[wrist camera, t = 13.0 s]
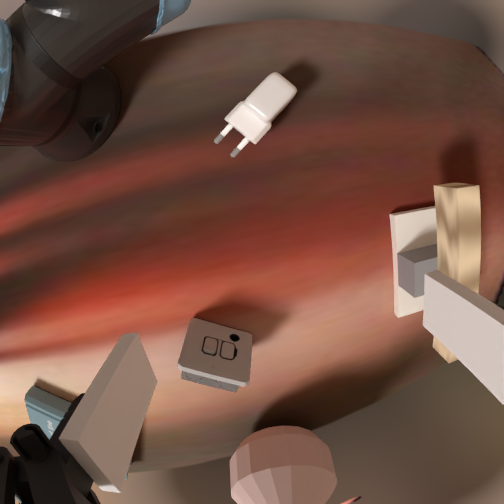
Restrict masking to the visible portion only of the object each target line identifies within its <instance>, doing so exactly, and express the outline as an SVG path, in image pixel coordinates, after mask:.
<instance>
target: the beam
mask: <svg viewBox="0 0 504 504" xmlns="http://www.w3.org/2000/svg"><path fill="white" fill-rule="evenodd" d="M434 196H435V208H436V224H437V270H438V271H440V272H441V273H443V274H445V275H447V276H448V277H450V278H452V279H454V280H455V281H457V282H459V283H461V284H462V285H464V286H466V287H467V288H469V289H471V290H472V291H474V292H476V293H477V294H478V290H479V277H480V259H481V209H480V191H479V185H472V184H464V183H448V184H441V185H434ZM433 348H434V349H435V350H436V351H437V352H438V353H439V354H440V355H441V356H442V357H443V358H444V359H445V360H446V361H447V362H448V363H451V362H453V361H455V360H458V358H457V357H456V356H455V355H453V354H452V353H451V352H450V351H449V350H448V349H447V348H446V347H445V346H444V345H443V344H442V343H441V342H440V341H439V340H438V339H437V338H436V337H435V336H434V339H433Z"/></svg>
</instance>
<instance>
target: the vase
mask: <svg viewBox="0 0 504 504" xmlns="http://www.w3.org/2000/svg"><path fill="white" fill-rule="evenodd" d="M230 477H231V494H232V495H231V496H232V498H233V499H234V500H235V501H236V502H237V504H325V503H326V502H327V500H328V499H329V497H330V496H331V494H332V492H333V491H334V489H335V487H336V484H337V479H336V475H335V471H334V466H333V463H332V458H331V454H330V451H329V447H328V446H327V445H326V444H325V443H324V442H323V441H322V440H321V439H320V438H319V437H317V436H316V435H315V434H314V433H313V432H312V431H310V430H308V429H304V428H301V427H298V426H284V425H283V426H276V427H269V428H265V429H263V430H260V431H257V432H254V433H252V434H251V435H249V436H248V437H247V438H245V439H244V440H243V441H242V442H241V444H240V445H239V447H238V448H237V450H236V451H235V453H234V454H233V456H232V457H231V459H230Z"/></svg>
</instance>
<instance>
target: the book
mask: <svg viewBox="0 0 504 504" xmlns="http://www.w3.org/2000/svg"><path fill="white" fill-rule="evenodd" d="M25 403H26V407H27V411H28V415H29V418H30V421H31V424H37V425H39V426H40V427H41V429H42V430H43V432H44V433H45V434H46V436H47V437H48V438H49V440H50V438H51V436H52V434H53V433H54V431H55V429H56V428H57V426H58V424H59V423H60V421H61V419H63V416H64V415H65V413H66V412H68V411H67V410H68V408H69V406H70V405H71V402H68V401H66V400H64V399H61V398H59V397H57V396H54V395H52V394H50V393H48V392H46V391H44V390H41V389H39V388H37V387H35V386H32V387H31V388H30V389H29V391H28V392H27V393H26V395H25ZM130 465H132V460H131V461H130ZM130 465H129V466H130ZM128 469H129V468H128ZM127 478H128V471H127V474H126V477H125V479H127Z"/></svg>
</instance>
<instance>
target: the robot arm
mask: <svg viewBox="0 0 504 504" xmlns="http://www.w3.org/2000/svg"><path fill="white" fill-rule="evenodd" d="M25 1H26V2H25V3H24V4H23V5H22V6H20V7H19V8H18V9H17V10H16V11H15V12H14V13H13V14H12V15H11V16H10V17H9V18H8V19H7V20H6V21H4V20H3V19H0V146H32V147H33V148H35V149H36V150H38V151H39V152H40V153H41V154H42V155H44V156H45V157H47V158H49V159H52V160H56V161H75V160H79V159H82V158H84V157H86V156H88V155H90V154H92V153H93V152H94V151H96V150H97V149H98V148H99V147H100V146H101V145H102V144H103V143H104V142H105V141H106V139H107V138H108V137H109V135H110V134H111V132H112V130H113V128H114V126H115V124H116V122H117V119H118V116H119V112H120V106H121V92H120V87H119V84H118V81H117V79H116V77H115V76H114V74H113V73H112V72H111V71H110V70H109V69H108V68H107V67H105V66H104V65H105V64H106V63H108V62H109V61H110V60H112V59H113V58H115V57H116V56H117V55H119V54H120V53H122V52H123V51H125V50H126V49H128V48H129V47H131V46H132V45H134V44H135V43H137V42H138V41H140V40H141V39H143V38H145V37H146V36H148V35H149V34H154V33H156V32H157V31H158V30H159V29H160V27H161V26H163V25H165V24H167V23H168V22H170V21H172V20H173V19H175V18H177V17H178V16H180V15H181V14H183V13H184V12H185V11H186V10H187V9H188V7H189V4H190V2H191V0H25ZM423 326H424V327H425V328H426V329H427V330H428V331H429V332H430V333H431V334H432V335H434V336H435V337H436V338H437V339H438V340H439V341H440V342H441V343H442V344H443V345H444V346H445V347H446V348H447V349H448V350H449V351H450V352H451V353H452V354H453V355H455V356H456V357H457V358H458V359H459V360H460V361H461V362H462V363H463V364H464V365H465V366H466V367H467V368H468V369H469V370H470V371H471V372H472V373H473V374H474V375H475V376H476V377H477V378H478V379H479V380H480V381H481V382H482V383H483V384H484V385H485V386H486V387H487V388H488V389H489V390H490V391H491V392H492V393H493V395H495V397H497V399H498V400H499V401H500V402H501V403H502V404H504V307H502V306H499V305H495V304H494V303H492V302H490V301H489V300H487V299H485V298H484V297H482V296H481V295H479V294H477V293H476V292H474V291H472V290H471V289H469V288H467V287H466V286H464V285H462V284H461V283H459V282H457V281H455V280H454V279H452V278H450V277H448V276H447V275H445V274H443V273H441V272H440V271H438V270H436V271H432V272H429V273H425V280H424V314H423ZM156 384H157V379H156V377H155V375H154V372H153V370H152V368H151V365H150V363H149V360H148V358H147V356H146V353H145V351H144V348H143V346H142V343H141V340H140V338H139V335H138V333H130V334H123V335H122V336H121V338H120V339H119V341H118V342H117V344H116V345H115V347H114V348H113V350H112V352H111V353H110V355H109V356H108V358H107V359H106V361H105V362H104V364H103V366H102V367H101V369H100V370H99V372H98V373H97V375H96V377H95V378H94V380H93V381H92V383H91V385H90V386H89V388H88V390H87V391H86V393H82V394H80V395H79V396H78V397H77V398H76V399H75V400H74V401H73V402H72V403H71V405H70V406H69V408H68V410H67V411H68V412H66V413H65V415H64V416H63V419H61V421H60V423H59V424H58V426H57V428H56V429H55V431H54V433H53V434H52V436H51V438H50V440H49V438H48V437H47V436H46V434H45V433H44V432H43V430H42V429H41V427H40V426H39V425H37V424H26V425H23V426H21V427H20V428H18V429H17V430H16V431H15V432H14V433H13V435H12V437H11V440H10V443H11V445H12V446H13V447H14V449H15V450H16V451H17V452H18V453H19V455H20V456H17V457H13V455H12V454H11V453H10V452H9V451H8V449H7V448H5V447H0V504H15V499H16V500H17V501H18V502H19V504H100V502H99V500H98V498H97V496H96V494H95V493H94V492H93V490H91V486H92V483H93V481H94V482H95V483H96V484H97V485H98V487H99V488H100V489H101V490H103V491H110V492H118V493H121V491H122V487H123V484H124V480H125V477H126V474H127V471H128V468H129V465H130V461H131V458H132V455H133V452H134V449H135V446H136V443H137V440H138V437H139V434H140V431H141V428H142V425H143V422H144V419H145V416H146V413H147V410H148V407H149V404H150V401H151V398H152V395H153V392H154V390H155V387H156Z"/></svg>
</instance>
